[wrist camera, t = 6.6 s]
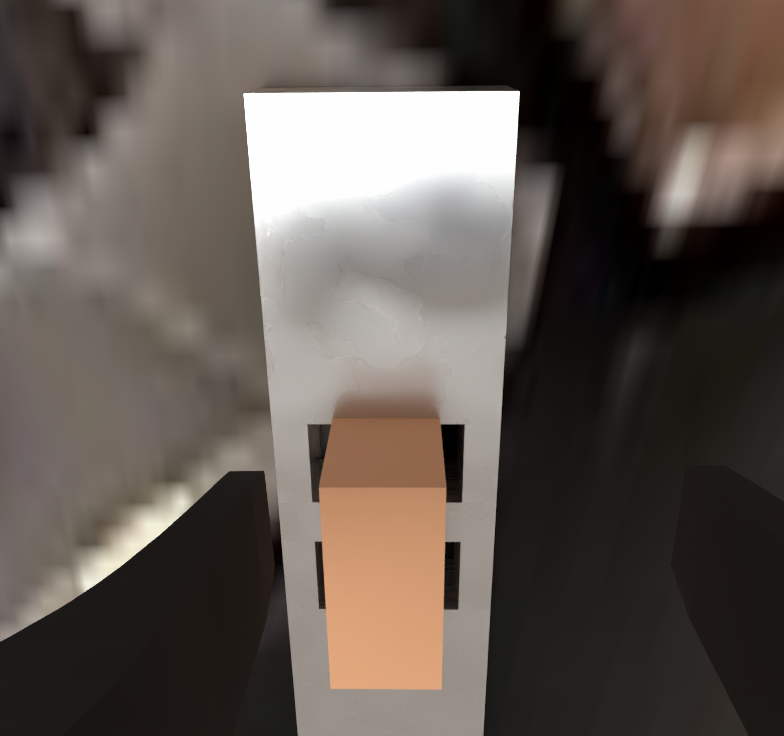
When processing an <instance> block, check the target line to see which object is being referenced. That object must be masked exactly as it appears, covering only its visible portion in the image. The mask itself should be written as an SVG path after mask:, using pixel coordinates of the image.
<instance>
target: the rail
mask: <svg viewBox="0 0 784 736" xmlns="http://www.w3.org/2000/svg"><path fill="white" fill-rule="evenodd" d="M519 93H520V91H518V90H516V89H513V88H511V87H509V86H506V85H497V86H386V87H275V88H260V89H257V90H254V91H250V92H247V93H244V103H245V114H246V126H247V138H248V150H249V162H250V174H251V185H252V197H253V209H254V221H255V233H256V244H257V256H258V268H259V280H260V292H261V303H262V315H263V327H264V339H265V351H266V362H267V374H268V386H269V398H270V410H271V422H272V433H273V445H274V457H275V469H276V481H277V492H278V504H279V516H280V528H281V540H282V551H283V563H284V575H285V587H286V599H287V610H288V622H289V634H290V646H291V658H292V670H293V681H294V693H295V705H296V717H297V729H298V736H483V730H484V712H485V694H486V676H487V659H488V641H489V623H490V606H491V588H492V570H493V553H494V535H495V517H496V500H497V482H498V464H499V447H500V429H501V411H502V394H503V376H504V358H505V341H506V323H507V305H508V287H509V270H510V252H511V234H512V217H513V199H514V181H515V164H516V146H517V128H518V111H519ZM332 418H440V423H441V424H458V433H457V459H444V467H445V478H446V526H445V542H454V559H445V569H444V612H443V655H442V690H430V689H331V688H330V671H329V654H328V636H327V619H326V602H325V585H324V568H323V551H322V534H321V517H320V500H319V484H320V479H321V474H322V469H323V464H324V459H321V447H320V429H319V424H331V423H332Z"/></svg>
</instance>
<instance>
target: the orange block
mask: <svg viewBox="0 0 784 736" xmlns="http://www.w3.org/2000/svg"><path fill="white" fill-rule="evenodd" d="M319 500H320V517H321V534H322V551H323V568H324V585H325V602H326V619H327V636H328V654H329V671H330V688H331V689H430V690H442V655H443V612H444V569H445V526H446V478H445V467H444V456H443V445H442V434H441V423H440V418H332V423H331V428H330V433H329V438H328V443H327V448H326V453H325V458H324V464H323V469H322V474H321V479H320V484H319Z"/></svg>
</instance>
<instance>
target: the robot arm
mask: <svg viewBox="0 0 784 736" xmlns="http://www.w3.org/2000/svg"><path fill="white" fill-rule="evenodd" d="M671 565H672V568H673V571H674V574H675V577H676V580H677V583H678V587H679V590H680V593H681V596H682V598H683V601H684V604H685V607H686V610H687V612H688V615H689V618H690V620H691V622H692V624H693V626H694V628H695V630H696V632H697V634H698V636H699V638H700V640H701V642H702V644H703V646H704V648H705V650H706V652H707V654H708V656H709V658H710V660H711V662H712V664H713V666H714V668H715V670H716V672H717V674H718V676H719V678H720V680H721V682H722V684H723V686H724V688H725V690H726V692H727V694H728V696H729V698H730V700H731V702H732V704H733V705H734V707H735V709H736V711H737V713H738V715H739V717H740V719H741V721H742V723H743V725H744V727H745V729H746V731H747V733H748V735H749V736H784V502H783V501H782V500H780V499H779V498H777V497H775V496H774V495H772V494H771V493H769V492H767V491H766V490H764V489H763V488H761V487H759V486H758V485H756V484H755V483H753V482H751V481H750V480H748V479H746V478H745V477H743V476H741V475H740V474H738V473H736V472H734V471H732V470H731V469H729V468H727V467H725V466H687V468H686V474H685V481H684V487H683V493H682V500H681V506H680V512H679V519H678V525H677V531H676V538H675V544H674V551H673V557H672V563H671ZM274 570H275V564H274V555H273V546H272V537H271V528H270V519H269V510H268V501H267V492H266V483H265V474H264V471H229V472H228V473H227V474H226V475H225V476H223V477H222V478H221V479H220V480H219V481H218V482H217V483H216V484H215V485H214V486H213V487H212V488H211V489H210V490H209V491H207V492H206V493H205V494H204V495H203V496H202V497H201V498H200V499H199V500H198V501H197V502H196V503H195V504H194V505H193V506H191V507H190V508H189V509H188V510H187V511H186V512H185V513H184V514H183V515H182V516H180V517H179V518H178V519H177V520H176V521H175V522H174V523H173V524H172V525H171V526H169V527H168V528H167V529H166V530H165V531H164V532H163V533H162V534H160V535H159V536H158V537H157V538H155V539H154V540H153V541H152V542H151V543H149V544H148V545H147V546H146V547H144V548H143V549H142V550H141V551H139V552H138V553H137V554H136V555H135V556H133V557H132V558H131V559H130V560H128V561H127V562H126V563H125V564H123V565H122V566H121V567H120V568H118V569H117V570H116V571H114V572H113V573H112V574H110V575H109V576H107V577H106V578H105V579H103V580H102V581H100V582H99V583H98V584H96V585H95V586H93V587H92V588H90V589H89V590H87V591H86V592H84V593H83V594H81V595H80V596H78V597H77V598H75V599H74V600H72V601H71V602H69V603H67V604H66V605H64V606H63V607H61V608H59V609H58V610H56V611H54V612H52V613H51V614H49V615H47V616H45V617H44V618H42V619H40V620H38V621H37V622H35V623H33V624H31V625H30V626H28V627H26V628H24V629H23V630H21V631H19V632H17V633H16V634H14V635H12V636H10V637H9V638H7V639H5V640H3V641H1V642H0V736H232V733H233V730H234V727H235V723H236V720H237V717H238V713H239V710H240V707H241V703H242V700H243V697H244V693H245V690H246V687H247V684H248V680H249V677H250V674H251V670H252V667H253V664H254V660H255V657H256V654H257V650H258V647H259V643H260V640H261V637H262V633H263V630H264V626H265V623H266V619H267V613H268V608H269V602H270V596H271V589H272V583H273V576H274Z"/></svg>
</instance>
